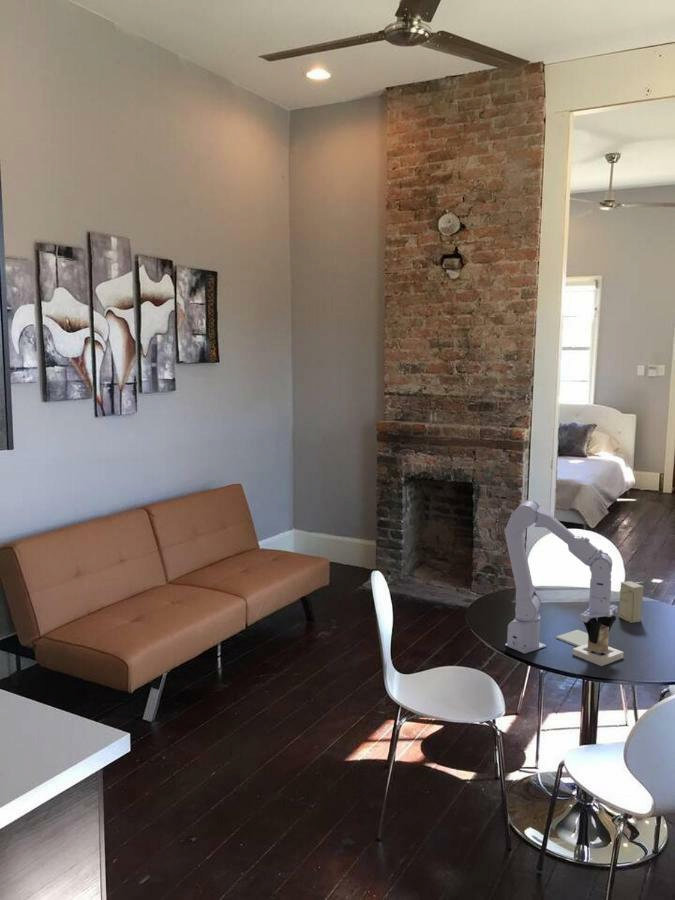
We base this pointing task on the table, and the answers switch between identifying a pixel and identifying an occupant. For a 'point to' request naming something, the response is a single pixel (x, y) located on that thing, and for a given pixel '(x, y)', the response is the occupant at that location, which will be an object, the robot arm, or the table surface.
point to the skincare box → (631, 601)
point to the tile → (574, 638)
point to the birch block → (600, 640)
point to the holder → (599, 660)
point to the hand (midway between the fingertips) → (598, 640)
